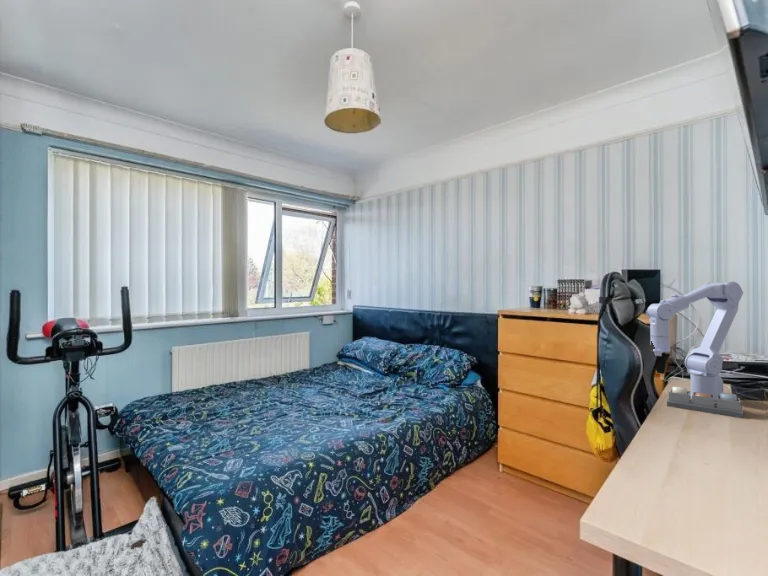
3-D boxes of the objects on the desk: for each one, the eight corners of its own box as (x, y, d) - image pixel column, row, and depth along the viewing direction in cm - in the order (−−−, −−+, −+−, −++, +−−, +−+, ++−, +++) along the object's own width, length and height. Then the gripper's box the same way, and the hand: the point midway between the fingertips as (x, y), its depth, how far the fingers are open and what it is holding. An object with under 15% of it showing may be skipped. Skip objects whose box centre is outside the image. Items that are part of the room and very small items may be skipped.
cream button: (671, 396, 128) (671, 388, 128) (672, 394, 131) (672, 385, 131) (686, 398, 125) (686, 390, 125) (687, 396, 128) (687, 387, 128)
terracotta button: (695, 403, 124) (695, 394, 124) (695, 400, 127) (695, 392, 127) (711, 405, 121) (711, 396, 121) (711, 403, 124) (711, 394, 124)
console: (667, 405, 127) (666, 392, 127) (669, 400, 134) (669, 387, 134) (743, 418, 114) (742, 403, 114) (741, 411, 121) (741, 397, 121)
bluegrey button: (720, 403, 120) (719, 394, 120) (720, 401, 123) (719, 392, 123) (737, 406, 117) (736, 396, 117) (736, 403, 120) (736, 394, 120)
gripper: (649, 333, 144) (649, 368, 144) (643, 337, 133) (644, 374, 133) (672, 335, 139) (672, 370, 139) (668, 338, 128) (669, 377, 128)
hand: (660, 373), depth 136 cm, fingers closed
